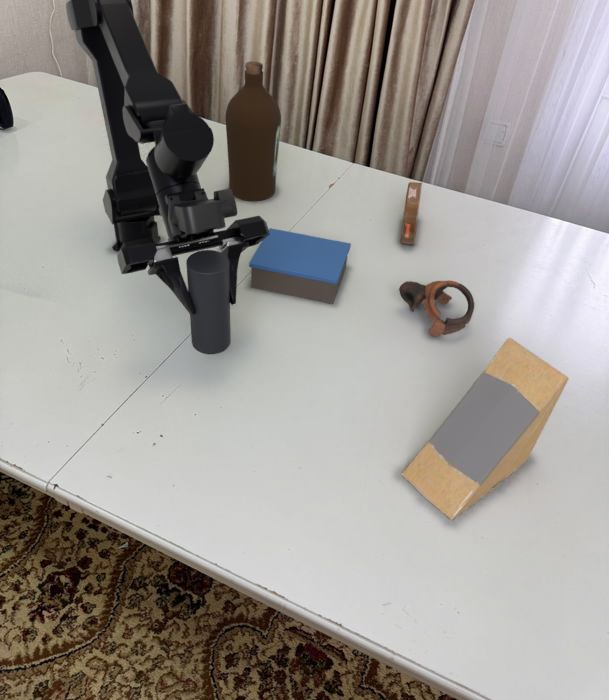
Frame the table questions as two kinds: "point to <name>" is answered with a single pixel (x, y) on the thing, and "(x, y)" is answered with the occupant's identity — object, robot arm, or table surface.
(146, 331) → the table surface
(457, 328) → the brown ring with knob
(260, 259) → the container
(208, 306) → the dark grey cylinder
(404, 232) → the tin
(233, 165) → the olive oil
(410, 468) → the sandwich container
